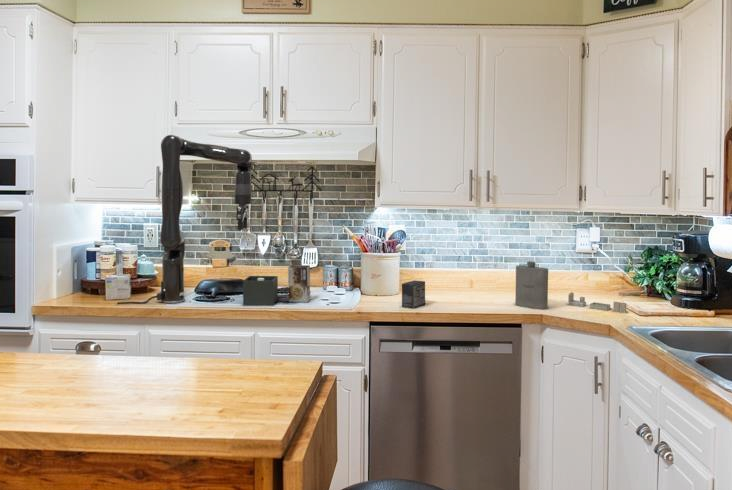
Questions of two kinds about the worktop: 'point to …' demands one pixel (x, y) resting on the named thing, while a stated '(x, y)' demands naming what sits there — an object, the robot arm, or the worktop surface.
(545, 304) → the flask
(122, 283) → the light bulb box
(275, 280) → the waste bin
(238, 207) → the robot arm
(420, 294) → the small box
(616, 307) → the bathroom set
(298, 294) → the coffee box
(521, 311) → the worktop surface
